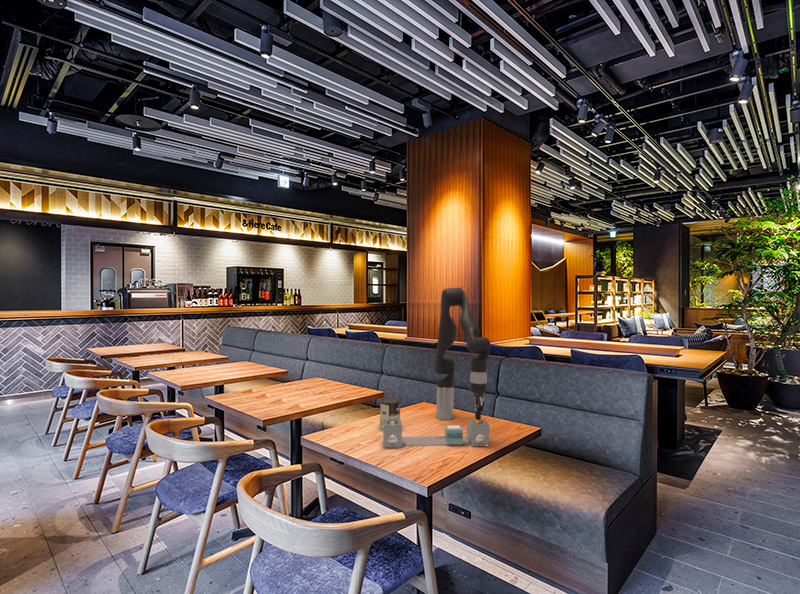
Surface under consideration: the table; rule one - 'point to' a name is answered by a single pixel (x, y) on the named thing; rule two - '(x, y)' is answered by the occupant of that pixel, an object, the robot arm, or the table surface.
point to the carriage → (454, 434)
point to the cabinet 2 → (478, 432)
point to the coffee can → (389, 410)
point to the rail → (430, 441)
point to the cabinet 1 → (392, 434)
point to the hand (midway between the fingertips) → (477, 419)
